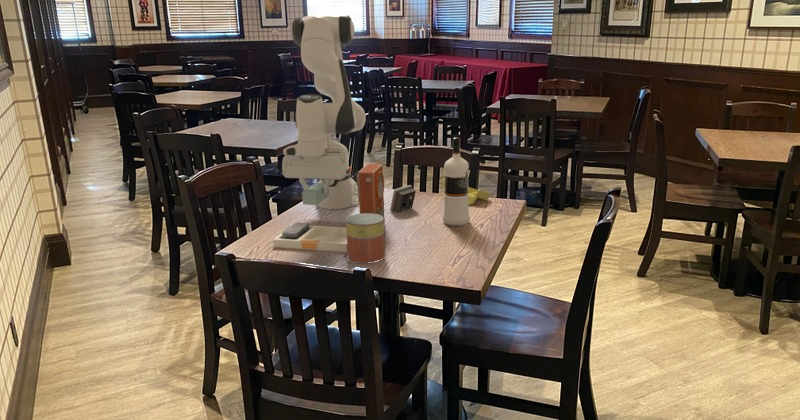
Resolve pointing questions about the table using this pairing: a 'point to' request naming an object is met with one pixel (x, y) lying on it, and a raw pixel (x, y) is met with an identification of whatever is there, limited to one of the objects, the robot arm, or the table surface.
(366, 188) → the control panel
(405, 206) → the electrical switch
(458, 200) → the vodka
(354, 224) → the canned food
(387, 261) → the table surface
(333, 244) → the cream compartment tray
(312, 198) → the panel
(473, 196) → the plastic component
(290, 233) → the dark grey long block
